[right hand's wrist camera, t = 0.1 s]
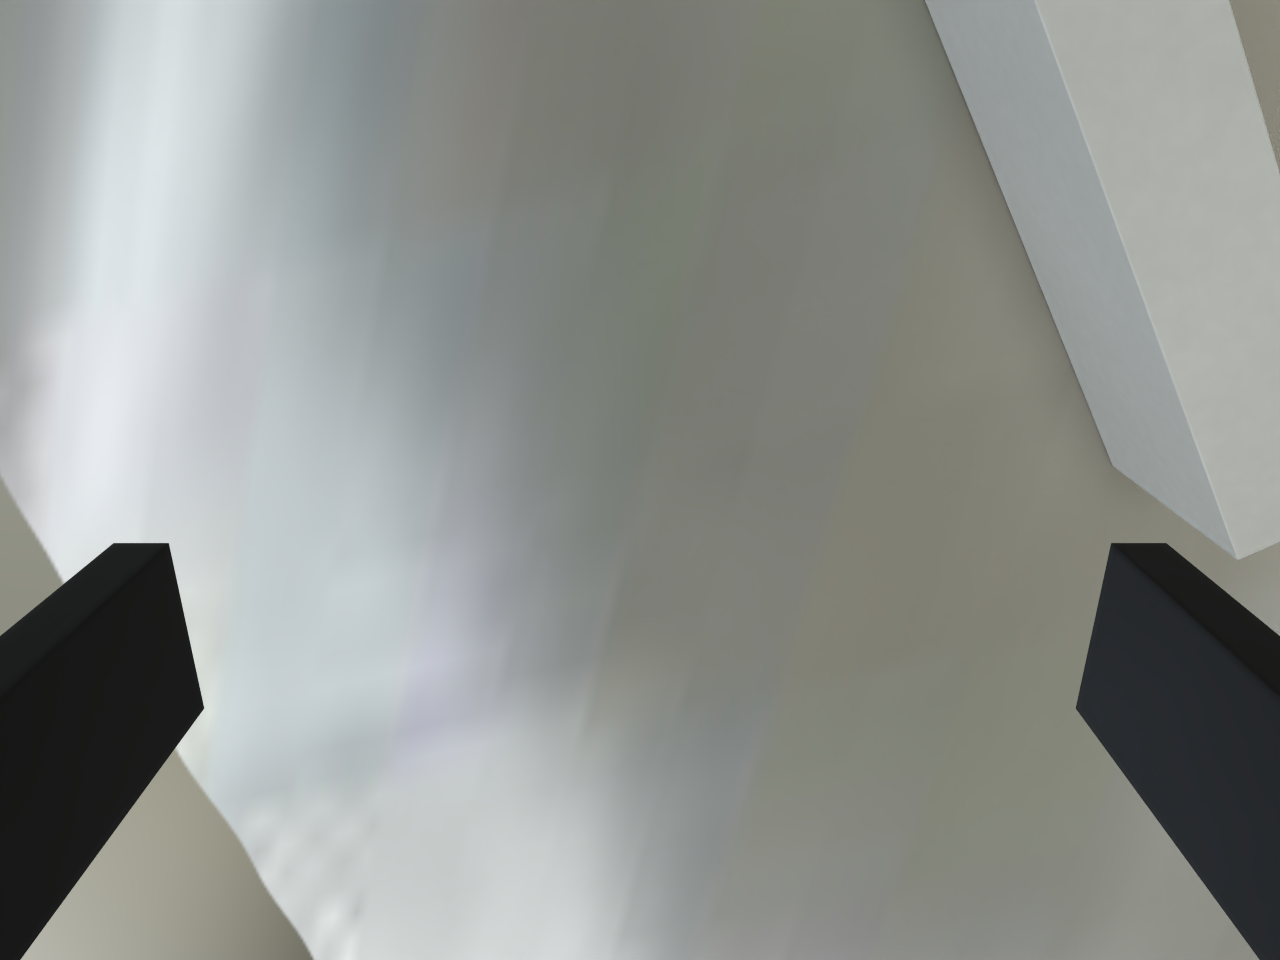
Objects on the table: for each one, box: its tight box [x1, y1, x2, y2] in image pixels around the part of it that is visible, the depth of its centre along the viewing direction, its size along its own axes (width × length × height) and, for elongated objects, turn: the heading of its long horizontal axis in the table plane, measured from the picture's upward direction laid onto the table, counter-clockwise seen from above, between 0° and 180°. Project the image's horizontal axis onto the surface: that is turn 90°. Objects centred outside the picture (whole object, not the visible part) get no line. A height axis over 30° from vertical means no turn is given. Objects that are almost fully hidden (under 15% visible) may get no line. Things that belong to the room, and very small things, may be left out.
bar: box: [925, 0, 1280, 560], centre depth 33 cm, size 24×5×10 cm, turn 30°
